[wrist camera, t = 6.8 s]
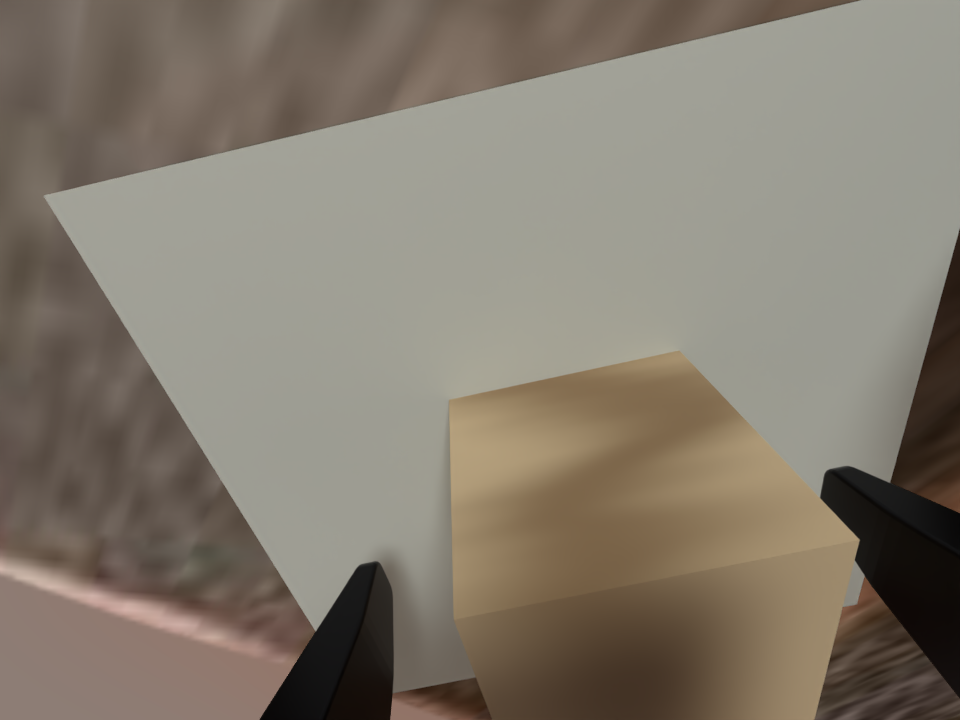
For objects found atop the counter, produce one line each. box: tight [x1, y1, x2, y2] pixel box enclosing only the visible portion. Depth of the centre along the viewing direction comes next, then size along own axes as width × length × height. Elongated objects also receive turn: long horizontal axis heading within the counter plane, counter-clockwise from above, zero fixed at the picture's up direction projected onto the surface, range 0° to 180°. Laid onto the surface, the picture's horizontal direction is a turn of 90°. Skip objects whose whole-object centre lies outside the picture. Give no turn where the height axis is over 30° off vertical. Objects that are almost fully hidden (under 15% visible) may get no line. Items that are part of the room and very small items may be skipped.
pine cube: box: [449, 351, 860, 720], centre depth 9 cm, size 5×5×5 cm
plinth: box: [44, 0, 960, 693], centre depth 13 cm, size 16×16×3 cm
